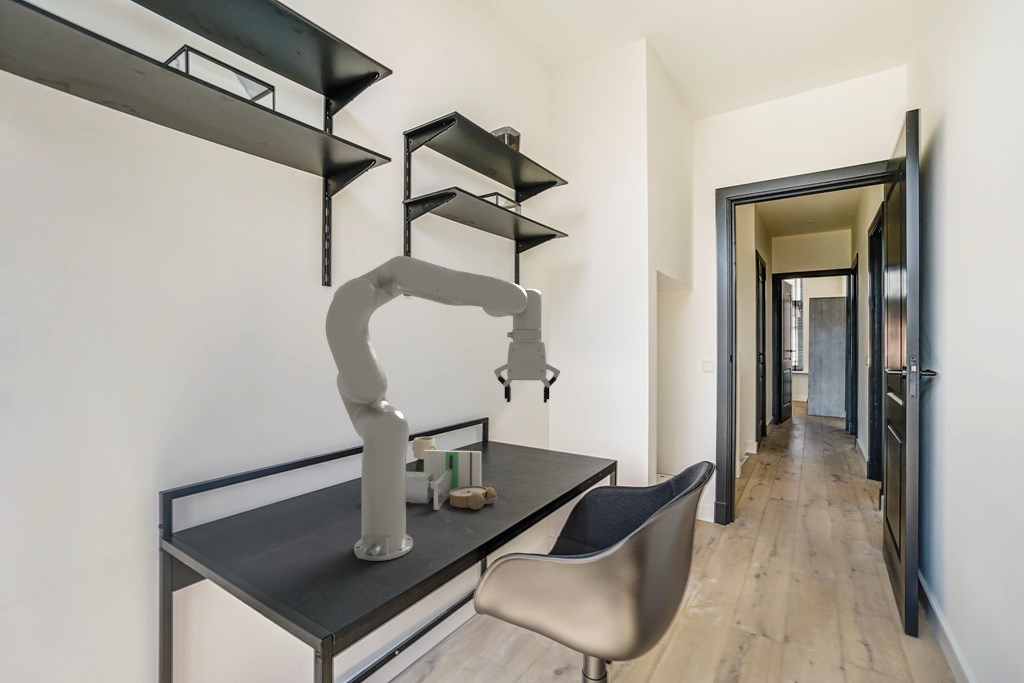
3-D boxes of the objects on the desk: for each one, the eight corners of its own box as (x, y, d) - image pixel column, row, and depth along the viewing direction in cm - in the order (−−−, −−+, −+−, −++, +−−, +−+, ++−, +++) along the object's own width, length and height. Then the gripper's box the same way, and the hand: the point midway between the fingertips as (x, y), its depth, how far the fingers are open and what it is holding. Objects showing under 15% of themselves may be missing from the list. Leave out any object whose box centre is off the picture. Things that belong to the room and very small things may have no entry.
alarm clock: (466, 484, 141) (505, 484, 132) (468, 500, 141) (507, 501, 132) (440, 493, 132) (479, 494, 123) (442, 511, 132) (481, 513, 123)
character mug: (443, 476, 158) (443, 438, 158) (428, 481, 152) (428, 442, 152) (420, 471, 164) (420, 435, 164) (405, 476, 158) (405, 438, 158)
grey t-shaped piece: (438, 510, 126) (438, 470, 126) (398, 508, 127) (398, 469, 127) (453, 489, 143) (453, 455, 143) (418, 488, 144) (418, 454, 144)
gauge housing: (427, 503, 132) (427, 477, 132) (383, 501, 133) (383, 476, 133) (433, 497, 137) (433, 472, 137) (390, 495, 139) (390, 470, 139)
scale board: (480, 491, 142) (480, 452, 142) (423, 489, 144) (423, 450, 144) (481, 490, 144) (481, 451, 144) (425, 487, 146) (425, 449, 146)
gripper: (492, 336, 118) (492, 403, 118) (560, 336, 116) (559, 404, 116) (496, 337, 126) (496, 399, 126) (560, 337, 124) (560, 400, 124)
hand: (527, 402), depth 121 cm, fingers open, 9 cm apart
